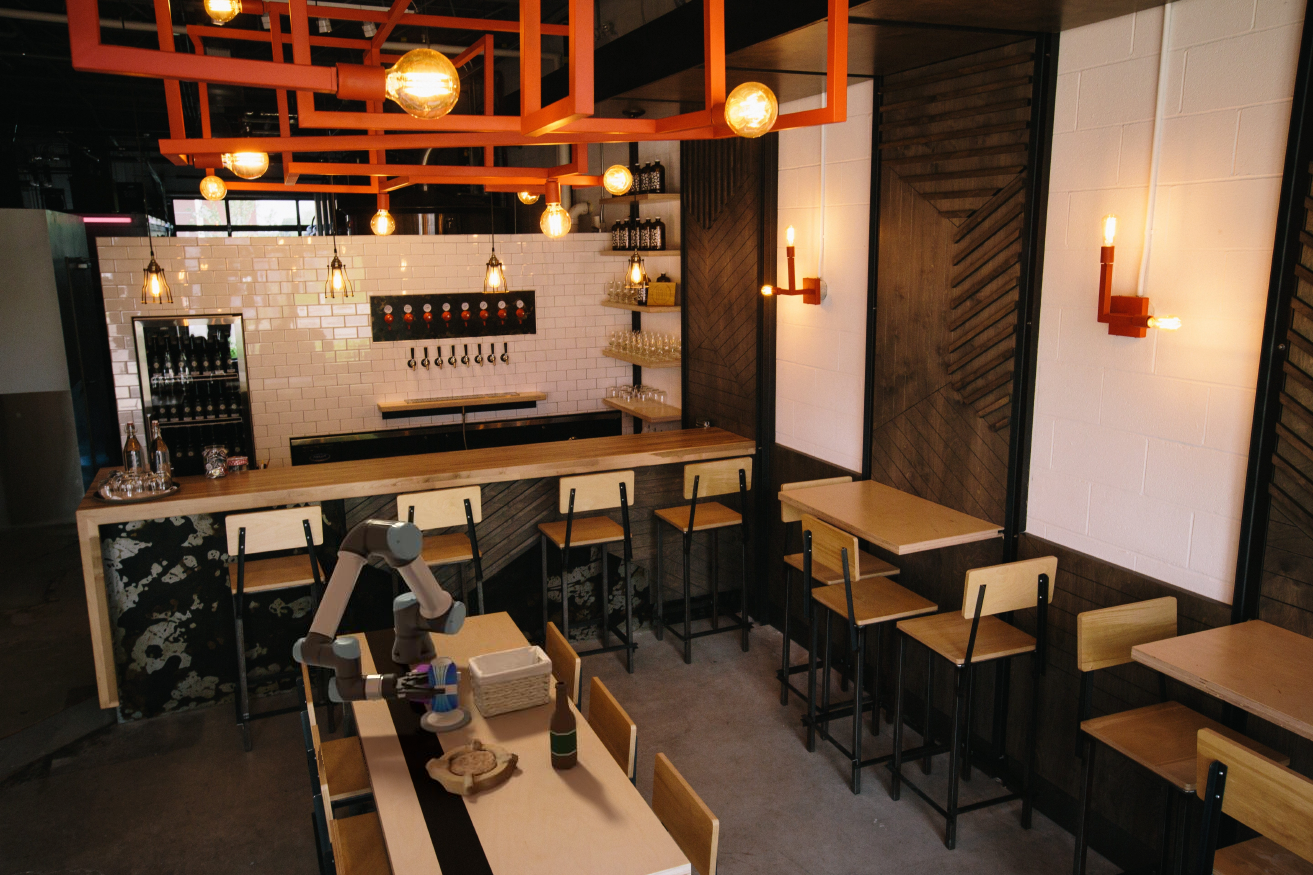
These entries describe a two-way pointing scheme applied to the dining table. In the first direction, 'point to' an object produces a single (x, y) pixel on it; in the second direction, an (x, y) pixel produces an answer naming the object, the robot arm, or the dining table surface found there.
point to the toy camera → (420, 669)
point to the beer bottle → (563, 731)
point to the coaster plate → (445, 720)
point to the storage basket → (510, 680)
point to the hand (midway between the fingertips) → (458, 682)
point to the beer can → (443, 674)
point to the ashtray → (473, 768)
